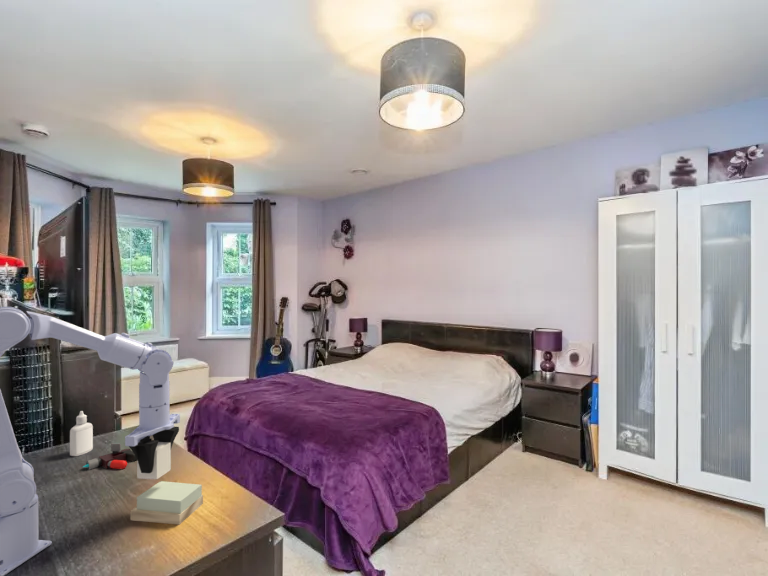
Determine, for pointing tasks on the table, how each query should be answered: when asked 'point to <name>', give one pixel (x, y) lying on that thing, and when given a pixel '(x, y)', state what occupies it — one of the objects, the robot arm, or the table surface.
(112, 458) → the toy gun
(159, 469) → the cream block
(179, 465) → the table surface
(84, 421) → the eye dropper bottle
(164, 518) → the oak base slab
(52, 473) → the table surface
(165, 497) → the sage top slab
